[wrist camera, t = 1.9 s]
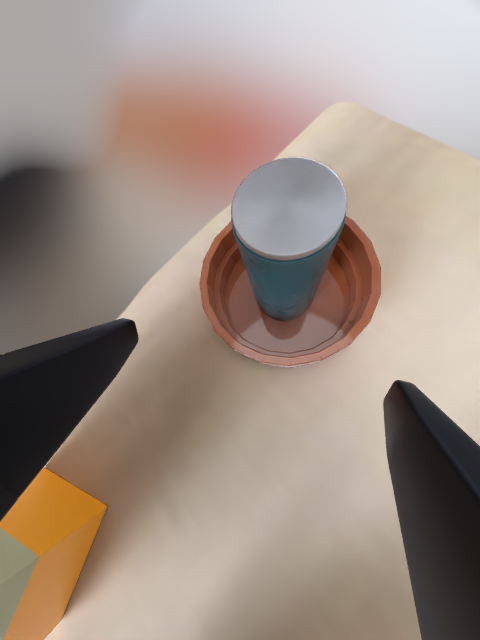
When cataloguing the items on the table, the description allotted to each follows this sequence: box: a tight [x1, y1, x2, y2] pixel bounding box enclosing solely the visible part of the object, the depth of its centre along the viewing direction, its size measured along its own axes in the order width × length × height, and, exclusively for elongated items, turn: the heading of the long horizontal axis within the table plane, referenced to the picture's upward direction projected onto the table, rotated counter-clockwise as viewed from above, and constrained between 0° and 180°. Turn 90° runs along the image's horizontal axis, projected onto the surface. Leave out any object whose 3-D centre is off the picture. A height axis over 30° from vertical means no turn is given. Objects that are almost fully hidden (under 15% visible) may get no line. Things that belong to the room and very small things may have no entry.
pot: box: [200, 216, 381, 368], centre depth 20 cm, size 13×13×4 cm
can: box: [231, 158, 347, 321], centre depth 16 cm, size 5×5×12 cm
